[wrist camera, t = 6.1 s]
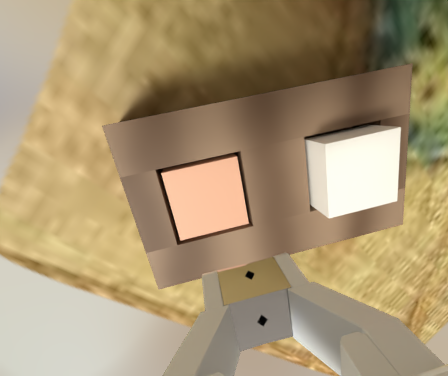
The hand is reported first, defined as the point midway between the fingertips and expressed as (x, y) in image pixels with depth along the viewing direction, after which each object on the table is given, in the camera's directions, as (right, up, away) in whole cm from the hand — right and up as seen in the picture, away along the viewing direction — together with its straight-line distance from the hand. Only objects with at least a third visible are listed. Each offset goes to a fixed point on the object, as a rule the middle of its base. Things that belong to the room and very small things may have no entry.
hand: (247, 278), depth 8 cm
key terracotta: (-2, +3, +11) cm, 11 cm away
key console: (+2, +5, +12) cm, 13 cm away
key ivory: (+8, +5, +10) cm, 13 cm away
